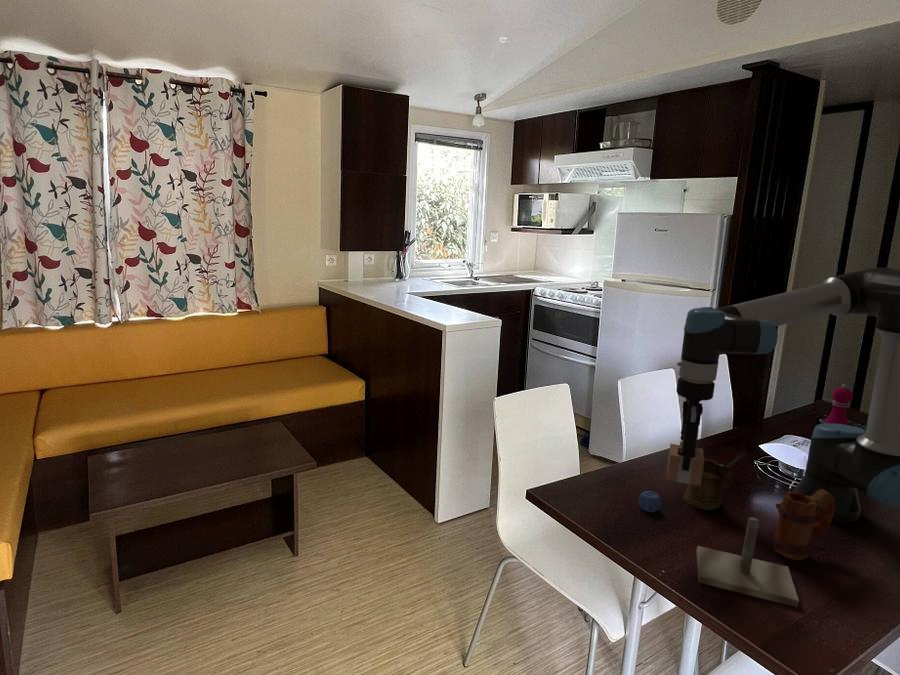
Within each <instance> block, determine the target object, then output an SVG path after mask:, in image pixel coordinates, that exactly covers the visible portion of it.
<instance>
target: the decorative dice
mask: <svg viewBox="0 0 900 675" xmlns="http://www.w3.org/2000/svg"><path fill="white" fill-rule="evenodd" d="M638 505H639V507H640V508H641V510H643V511H644V512H647V513H655V512H657V511H659V510H660V508H661V505H662V501H661V497H660V495H659V494H658V493H656V492H654V491H652V490H651V491H650V490H645V491H643V492H642V493H640V494H639V496H638Z"/></svg>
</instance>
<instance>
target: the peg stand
mask: <svg viewBox="0 0 900 675" xmlns="http://www.w3.org/2000/svg"><path fill="white" fill-rule="evenodd" d="M759 524H760V519H758V518H756V517H752V516H749V517H748V518H747V524H746V530H745V535H744V543H743V547H742V552H741V555H739V554H735V553H731V552H726V551H722V550H716V549H713V548H709V547H704V546H699V545H697V546H696V563H697V577H698V578H697V579H698V580H697V581H698V583H700V584H703V585H706V586H707V585H708V586H712V587H715V588H719V589H724V590H728V591H731V592H735V593H740V594H743V595H746V596H751V597H755V598H758V599H763V600H767V601H771V602H776V603H780V604H782V605H787V606H791V607H795V608H798V607H799V602H800V600H799V596H798V594H797V593H798V592H797V590H796V587H795V584H794V581H793V579H792V578H793V577H792V575H791V572H790V568H789V566H787V565H782V564H778V563H774V562H769V561H765V560H760V559H757V558H753V557H754V552H755V547H756V542H757V536H758V530H759Z"/></svg>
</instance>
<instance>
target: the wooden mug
mask: <svg viewBox="0 0 900 675" xmlns="http://www.w3.org/2000/svg"><path fill="white" fill-rule="evenodd" d="M747 453H748V452H747V450H743V451H741V452H740V453H739V454H737V455H736V456H734V457H733V458H731V459H730V460H728V461H727V462H726V463H724V464H720V463H718V462H716V461H714V460H712V459H706V458H704V466H703V473H702V480H701V486H698V485H693V484H687V487H686V490H684V493H683V497H682V498H683V501H684V502H685V503H686V504H687V505H690V506H691V507H693V508H697V509H701V510H704V511H705V510H706V511H713V510H717V509H719V508H720V507H721V504H722V499H721V496H722V495H723V493H724V492H725V491H727V490H728V489H729V488H730V486H731V485H732V484H733V480H734V475H733V471H732V468H731V467H732V466H733V465H734V464H735V463H736V462H737V461H739V460H740V459H742V458H743V457H745V455H746V454H747ZM722 477H724V482H722V483H720V479H721V478H722Z"/></svg>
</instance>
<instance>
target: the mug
mask: <svg viewBox="0 0 900 675" xmlns="http://www.w3.org/2000/svg"><path fill="white" fill-rule="evenodd" d="M793 492H794V491H793ZM793 492H791V491H787V492H786V493H784V495H783V498H782V502H780V503H776V504H775V508H776V509H777V510H778V511H777V512H778V514H779V516H778V523H777V527H776V530H774V531H770V532H769V536H770V538H771V540H772V543H773V549H774V551H775V552H776V553H777V554H779V555H781V556H782V557H784V558H787V559H789V560H792V561H804V560H806V559H808V557H809V555H810V554H811V553H812V552H815V551H816V550H817V547H816V545H815V544H814V540H813V539H812V537H813V536H815V537H816V538H821V537H822V535H823V534H824V533H825V532H826V530H827V529H828V528H829V527H830V524H831V523H832V521H833V520H832V518H833V515H834V512H835V501H834V498H833V496H832V494H830V493H829V492H827V491H825V490H823V489H820V490H818V491H817V492H816V493H815V494H813V495H812V496H808V495H806V496H805V495H803V493H799V492H794V493H793ZM816 507H819V509H818V512H817V511H816Z"/></svg>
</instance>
